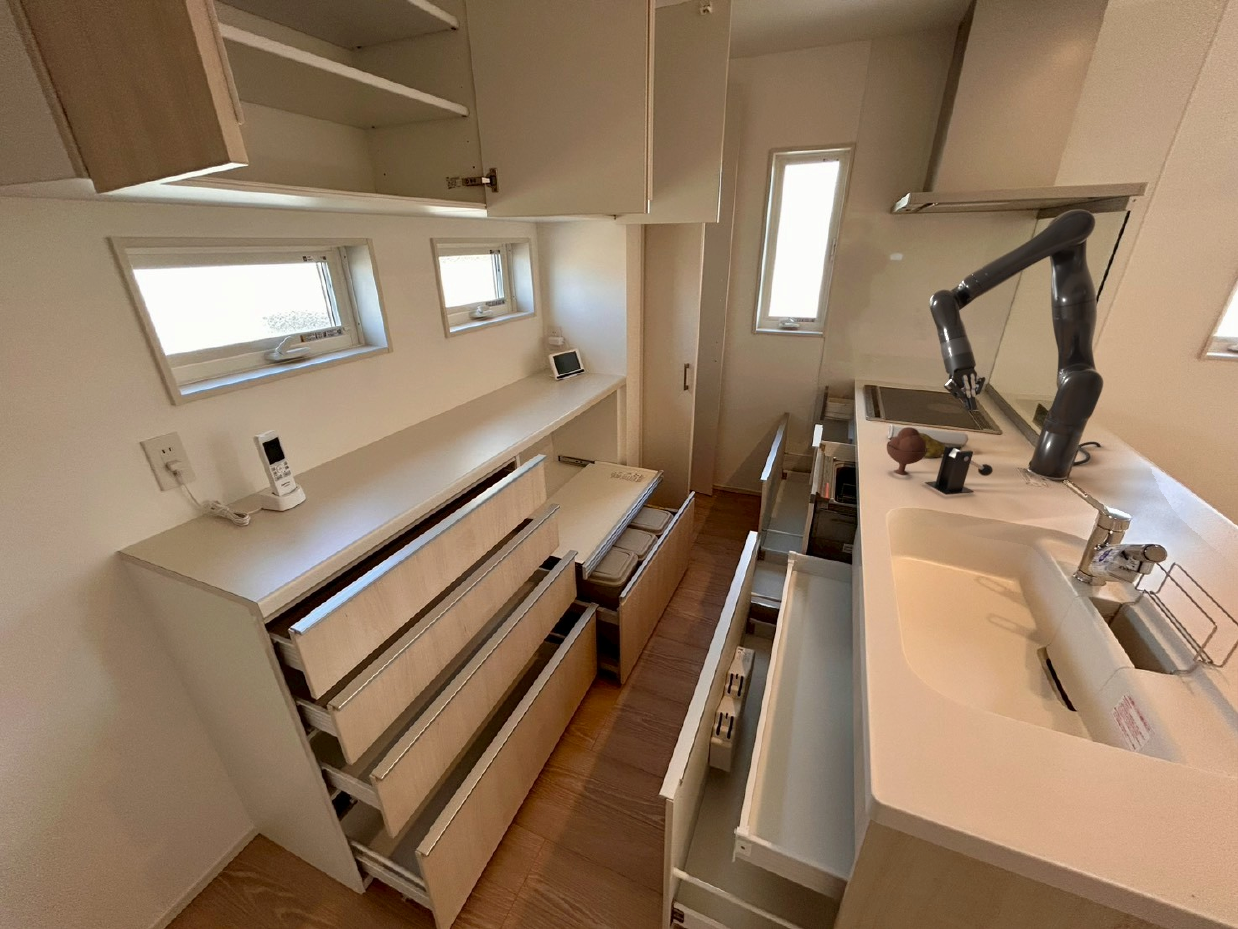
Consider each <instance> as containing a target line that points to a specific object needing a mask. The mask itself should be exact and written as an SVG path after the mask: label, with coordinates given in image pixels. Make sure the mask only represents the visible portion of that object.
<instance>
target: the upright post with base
mask: <svg viewBox="0 0 1238 929" xmlns="http://www.w3.org/2000/svg"><path fill="white" fill-rule="evenodd" d="M954 448H955V449H957V450H960V451H957V452H956V456H955V459H954V458H953V457H951V456H949V454H950V453H951V451H952V450H953V449H954ZM962 449H963V446H959V445H957V446H956V445H946V446H945V450H944V454H943V455H942V458H941V462H940V464H939V469H938V473H937V477H936V480H934V481H924V484H926V485H927V486H929V487H931V488H933V489H934V490H936V491H938V492H940V493H942V494H943V495H944V496H945V495H946V496H947V495H957V494H958V495H959V494H968V493H969V494H970V493H974V490H972V489H970V488H968V487H966V486H964V485H965V482H966V479H967V475H968V472H969V469H970V466H971V464H970V462H971V460H972V458H973V455H974V450H962Z"/></svg>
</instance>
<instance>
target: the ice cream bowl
mask: <svg viewBox="0 0 1238 929" xmlns="http://www.w3.org/2000/svg"><path fill="white" fill-rule="evenodd" d="M906 427H907V428H903V429H902V430H901V431H900V432H899V433H898V435H897V436H895V437H894V438H892V439H889V441H887V443H886V452H887V454H888V456H889V457H890V459H892V460H894V461H895V462H896V463H898V464H899V466H898V469H894V470H893V473H895V474H897V475H900V476H907V475H909V472H907V471H906V466H907V465H912V464H916V463H918V462H920V461H922V460H924V458H925V457H924V456H925V455H926V453H927V450H928V448H926V442H925V440H924V439H923V438H922V437H920V434H919V432H918V431H917V430H916V429H915V428H916V427H915V428H912V427H913V426H906Z"/></svg>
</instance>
